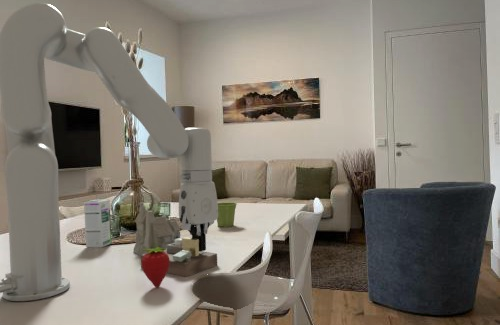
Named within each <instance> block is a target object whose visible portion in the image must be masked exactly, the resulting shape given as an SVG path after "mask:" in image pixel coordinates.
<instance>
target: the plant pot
mask: <svg viewBox="0 0 500 325" xmlns="http://www.w3.org/2000/svg"><path fill="white" fill-rule="evenodd" d="M237 205H238V203H237V202H231V201H230V202H218V218H217V219H216V223H217V227H220V228H222V227H224V228H228V227H229V228H230V227H233V226H234V225H235V224H234V222H235V212H236V208H237Z"/></svg>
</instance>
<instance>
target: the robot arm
mask: <svg viewBox="0 0 500 325" xmlns="http://www.w3.org/2000/svg"><path fill="white" fill-rule="evenodd" d="M45 59H46V60H50V61H52V62H56V63H60V64H63V65H66V66H70V67H72V68H73V67H74V68H75V69H80V70H83V71H87V72H92V73H95V74H96V75H97V77H98V78H99V79H100V81H101V82H102V84H103V85H104V87H105V88H106V89H107V91H108V93H109V94H110V95H111V97H112V98H113V100H114V101H115V102H116V103H117V105H119V106H120V107H121V108H122V109H125V111H128V112H129V113H131V114H132V115H133V116H134V117H135V118H136V119H137V120H138V121H139V122H140V123H141V125H142V126H143V127H144V129H145V130H146V132H147V133H148V134H149V135H148V137H147V139H146V146H147V149H148V151H149V152H150V154H151V155H153V156H154V157H156V158H159V159H176V158H179V157H180V161H181V162H180V164H181V174H180V176H179V178H180V180H181V183H180V186H179V196H178V219H179V223H180V224H181V226H180V229H181V230H183V231H188V232H189V235H191V238H194V239H199V251H200V252H201V251H204V252H206V250H207V240H206V239H207V238H206V235H207V234H208V230H209V227H210V226H212V225H213V224H215V221H217V218H218V203H219V202H218V195H217V189H216V184H215V182H214V181H213V165H212V134H211V131H210V130H209V129H208V128H205V127H186V128H185V127H184V125H183V123H182V122H181V121H180V120H179V118H178V116H177V115H176V113H175V112H174V111H173V109H172V108H171V106H170V105H169V104H168V103H167V102H166V101H165V99H164V98H163V97H162V96H161V95H160V93H158V92H157V90H155V89H154V88H153V86H151V85H150V84H149V82H148V81H147V80H146V79H145V76H144V74H143V73H142V72H141V71H140V69H139V68H138V67H137V65H136V63H135V62H134V61H133V60H134V59H132V57H131V56H130V54H129V53H128V51H127V49H126V48H125V47H124V45H123V44H122V42H121V40H120V39H119V38H118V37H117V34H115V33H114V31H112V30H110V29H109V28H107V27H103V26H102V27H101V26H100V27H99V26H98V27H94V28H91V29H89V30H88V31H86V32H85V33H82V32H78V31H75V30H72V29H69V28H68V26H67V23H66V20H65V18H64V16H63V14H62V13H61V12H60V11H59V10H58V9H57V8H56V7H55V6H53V5H51V4H49V3H46V2H34V3H30V4H27V5H24V6H22V7H19V9H17V10H15V11H14V12H13V13H12V14H10V16H8V18H7V19H6V21H5V22H4V24H3V26H2V27H1V31H0V107H1V111H0V115H1V119H2V122H3V124H4V126H5V135H6V144H7V153H8V154H7V157H6V160H5V164H4V176H5V177H4V178H5V189H6V201H7V202H6V203H7V204H6V205H7V221H8V242H9V262H10V263H9V264H10V265H9V266H10V272H9V273H8V272H7V273H5V276H4V278H2V279H0V294H1V293H2V297H3V299H4V300H7V301H11V302H29V301H38V300H42V299H46V298H51V297H53V296H57V295H59V294H62V293H64V292H65V291H68V289H69V288H70V287H71V282H70V279H68V278H66V277H62V276H63V275H62V256H61V255H62V253H61V252H62V249H61V227H60V226H61V225H60V204H59V202H60V201H59V164H58V159H57V156H56V149H55V141H54V140H55V139H54V132H53V123H52V122H53V121H52V110H51V106H50V104H49V98H48V91H47V90H48V89H47V84H46V68H45V67H46V66H45Z"/></svg>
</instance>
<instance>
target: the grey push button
mask: <svg viewBox="0 0 500 325" xmlns="http://www.w3.org/2000/svg"><path fill="white" fill-rule="evenodd" d="M182 238H183V237H180V238H178V239H175V246H179V247H182Z"/></svg>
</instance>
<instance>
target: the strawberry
mask: <svg viewBox="0 0 500 325" xmlns="http://www.w3.org/2000/svg"><path fill="white" fill-rule="evenodd" d="M152 242H153V241H152ZM153 243H154V242H153ZM154 244H155V243H154ZM155 245H156V244H155ZM156 246H157V245H156ZM166 249H167V248H166ZM163 250H165V249H160V248H159V247H157V248H155V250H154V249H145V250H142V251H149V252H148V253H147V254H145V255H144V256H143V258H142V263H141V262H140V266H141V265H142V267H141V269H142V271H143V274H144V275H145V276H146V278H147V279H148V280H149V282H150V283H152V285H153V287H155V288H159V287H160V285H161V284H162V282H163V281H164V279H165V278H166V274H168V273H167V271H168V268H169V263H170V260H169V256H168V255H167V253H165V252H164V251H163Z"/></svg>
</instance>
